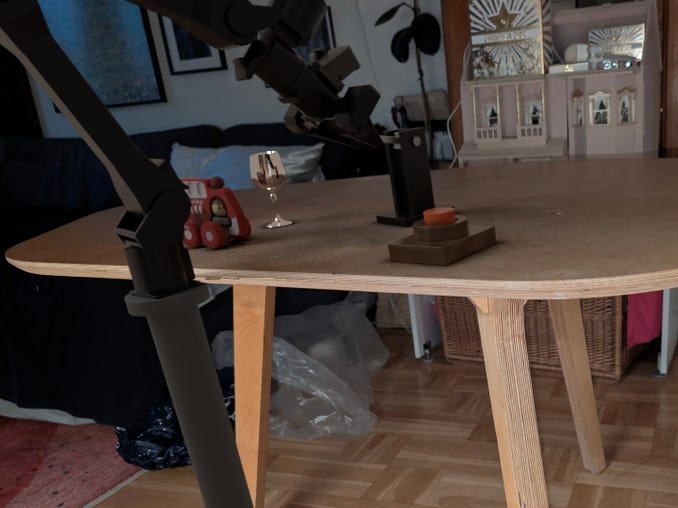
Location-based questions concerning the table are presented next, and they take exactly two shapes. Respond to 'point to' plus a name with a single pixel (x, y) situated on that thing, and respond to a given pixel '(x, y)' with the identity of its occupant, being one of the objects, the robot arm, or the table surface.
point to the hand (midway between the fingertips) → (371, 145)
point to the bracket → (409, 178)
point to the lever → (389, 140)
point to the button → (439, 216)
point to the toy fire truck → (213, 214)
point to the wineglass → (269, 178)
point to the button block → (441, 242)
